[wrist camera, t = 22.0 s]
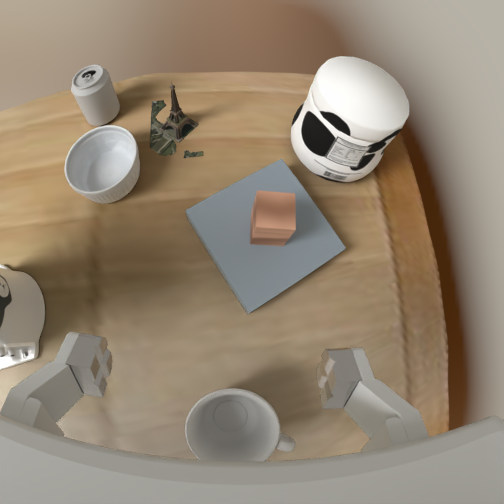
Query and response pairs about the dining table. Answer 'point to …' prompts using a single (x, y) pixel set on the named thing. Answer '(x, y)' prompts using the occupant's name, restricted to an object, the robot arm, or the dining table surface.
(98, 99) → the can
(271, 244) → the terracotta block
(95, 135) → the ramekin
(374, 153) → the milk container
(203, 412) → the teacup
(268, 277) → the plinth
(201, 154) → the eiffel tower figurine
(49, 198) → the dining table surface
